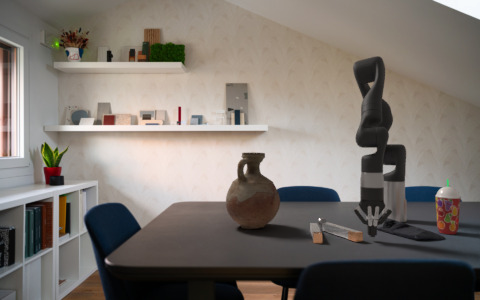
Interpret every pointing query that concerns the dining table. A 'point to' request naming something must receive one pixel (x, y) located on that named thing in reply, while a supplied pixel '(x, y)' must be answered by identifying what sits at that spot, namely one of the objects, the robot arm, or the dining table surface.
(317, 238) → the base
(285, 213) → the dining table surface
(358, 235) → the tong arm
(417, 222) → the dining table surface
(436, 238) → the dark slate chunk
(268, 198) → the jug
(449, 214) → the smoothie
